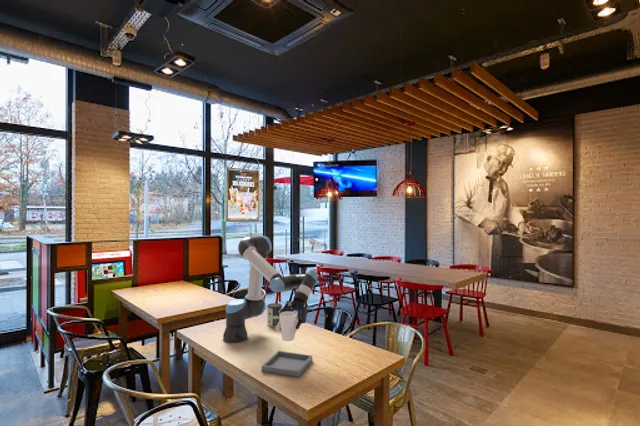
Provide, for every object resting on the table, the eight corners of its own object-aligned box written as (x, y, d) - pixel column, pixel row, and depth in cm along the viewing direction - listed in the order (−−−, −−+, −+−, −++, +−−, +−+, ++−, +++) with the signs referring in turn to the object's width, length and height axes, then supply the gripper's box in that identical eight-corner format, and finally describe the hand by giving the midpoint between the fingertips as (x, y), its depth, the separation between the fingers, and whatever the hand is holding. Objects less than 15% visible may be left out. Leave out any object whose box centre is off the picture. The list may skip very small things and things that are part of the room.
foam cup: (282, 343, 175) (282, 317, 175) (276, 337, 183) (277, 312, 183) (299, 340, 179) (300, 315, 179) (293, 334, 187) (294, 310, 187)
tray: (261, 371, 174) (261, 365, 174) (278, 356, 194) (278, 350, 194) (298, 378, 168) (298, 371, 168) (312, 361, 187) (312, 355, 187)
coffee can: (283, 323, 251) (283, 303, 251) (279, 327, 241) (279, 307, 241) (270, 322, 253) (270, 302, 253) (265, 326, 243) (265, 306, 243)
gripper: (321, 301, 188) (305, 340, 175) (289, 296, 200) (271, 331, 186) (316, 293, 184) (299, 332, 170) (283, 288, 195) (264, 324, 182)
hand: (284, 332), depth 178 cm, fingers closed on foam cup, 9 cm apart
